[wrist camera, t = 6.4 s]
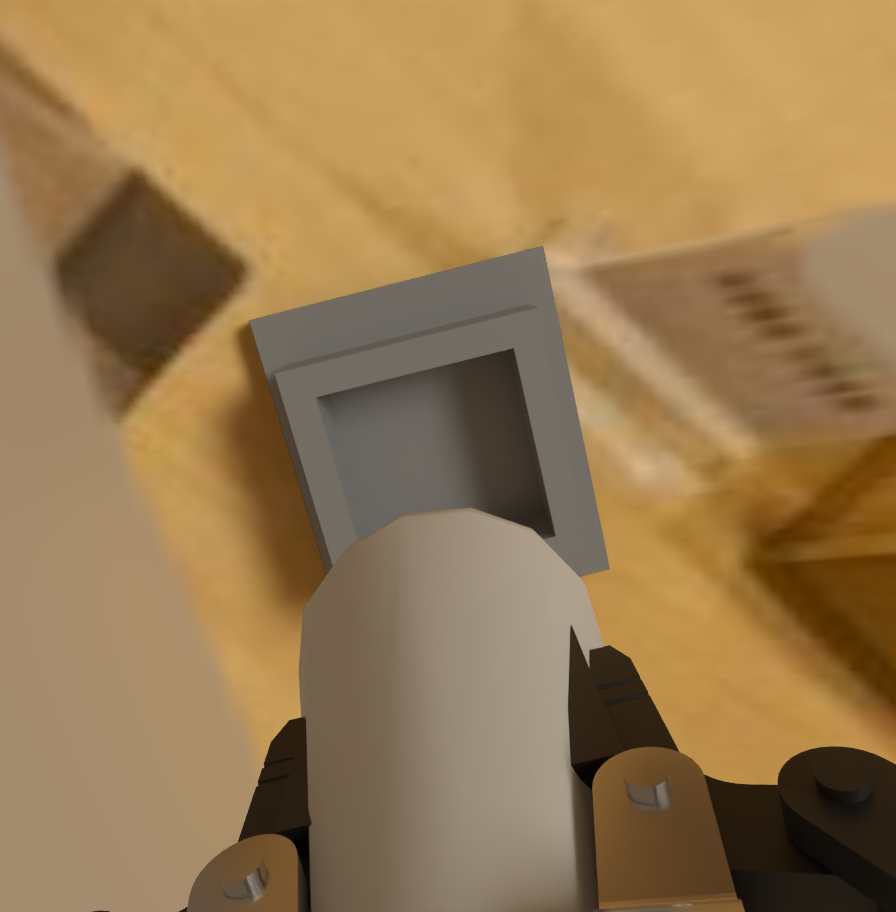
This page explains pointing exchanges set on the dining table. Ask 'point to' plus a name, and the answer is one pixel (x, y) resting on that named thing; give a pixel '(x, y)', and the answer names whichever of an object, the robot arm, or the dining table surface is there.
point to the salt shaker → (446, 722)
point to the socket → (435, 406)
